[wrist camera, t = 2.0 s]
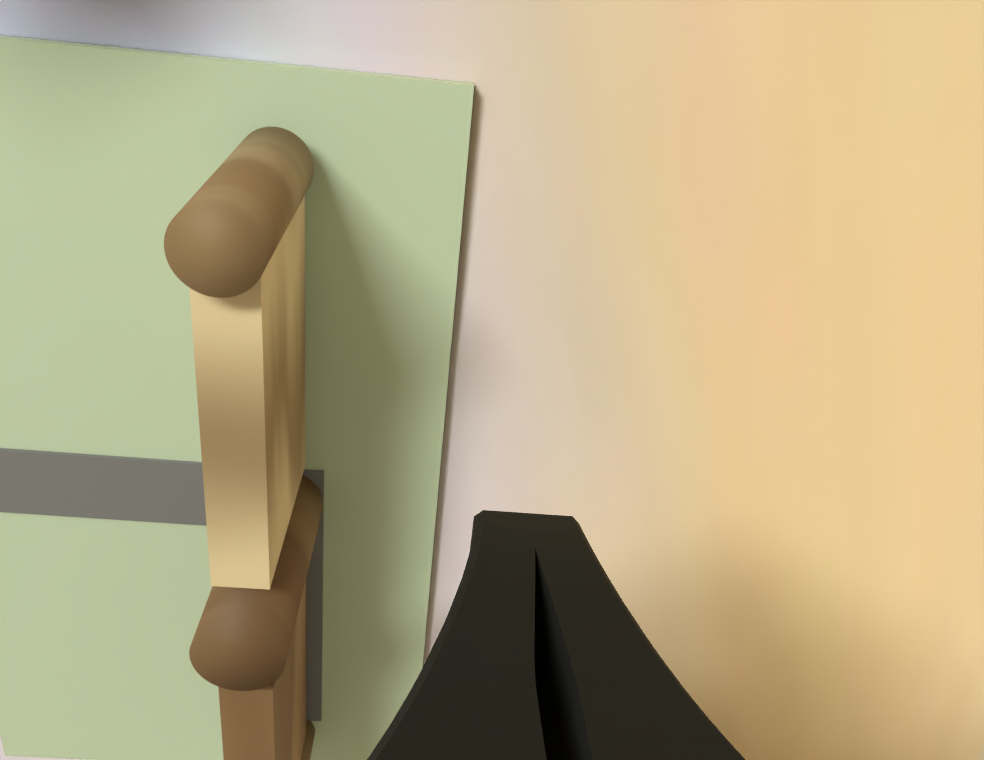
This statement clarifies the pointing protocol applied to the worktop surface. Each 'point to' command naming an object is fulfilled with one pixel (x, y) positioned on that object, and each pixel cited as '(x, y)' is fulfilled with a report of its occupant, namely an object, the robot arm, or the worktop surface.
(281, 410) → the hinged panel
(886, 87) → the worktop surface
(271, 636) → the fixed fence
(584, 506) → the worktop surface
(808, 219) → the worktop surface
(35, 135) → the board
